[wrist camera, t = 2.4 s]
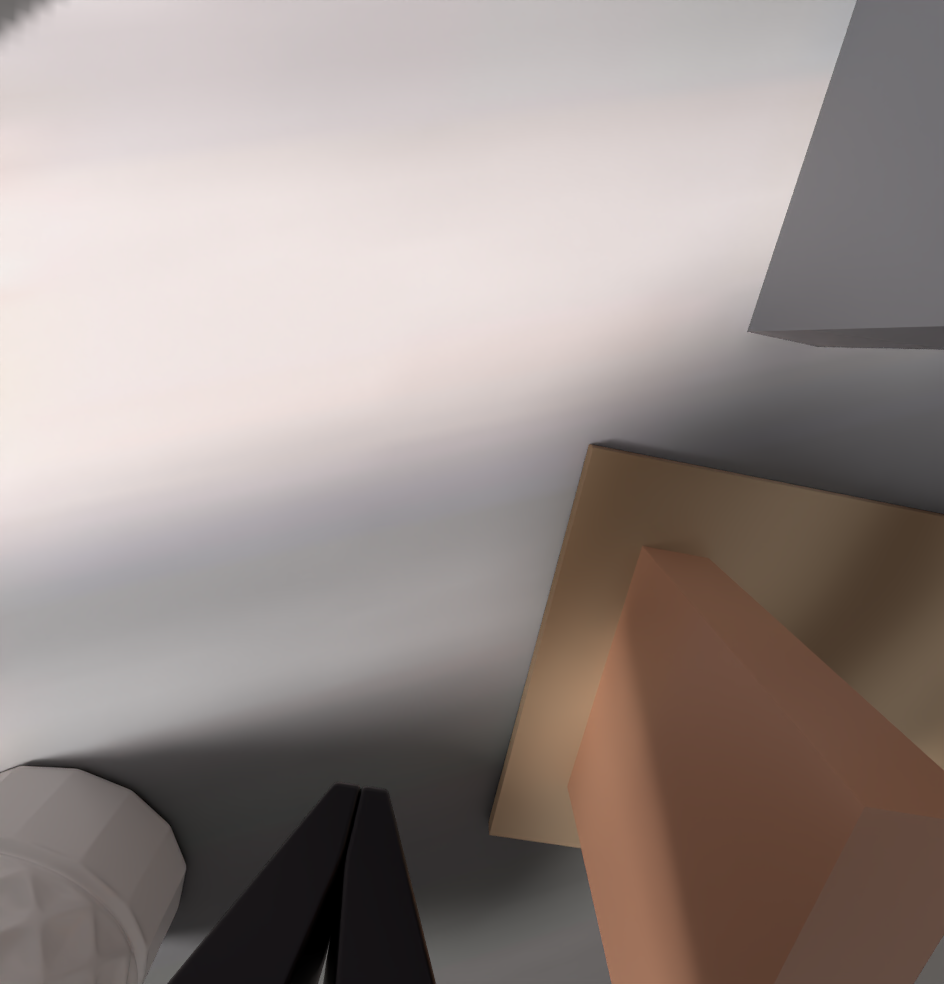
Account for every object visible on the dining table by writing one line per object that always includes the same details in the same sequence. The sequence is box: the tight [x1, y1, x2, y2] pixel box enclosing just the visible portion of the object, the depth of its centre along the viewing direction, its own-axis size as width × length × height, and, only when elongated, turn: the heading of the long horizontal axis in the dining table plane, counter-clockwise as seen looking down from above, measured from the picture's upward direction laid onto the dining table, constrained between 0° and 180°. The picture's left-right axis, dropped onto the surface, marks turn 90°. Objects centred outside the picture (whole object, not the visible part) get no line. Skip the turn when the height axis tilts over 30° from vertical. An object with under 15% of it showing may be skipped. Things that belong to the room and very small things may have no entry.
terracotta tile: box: [567, 546, 944, 984], centre depth 10 cm, size 2×7×7 cm, turn 169°
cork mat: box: [489, 444, 944, 848], centre depth 13 cm, size 13×11×1 cm
